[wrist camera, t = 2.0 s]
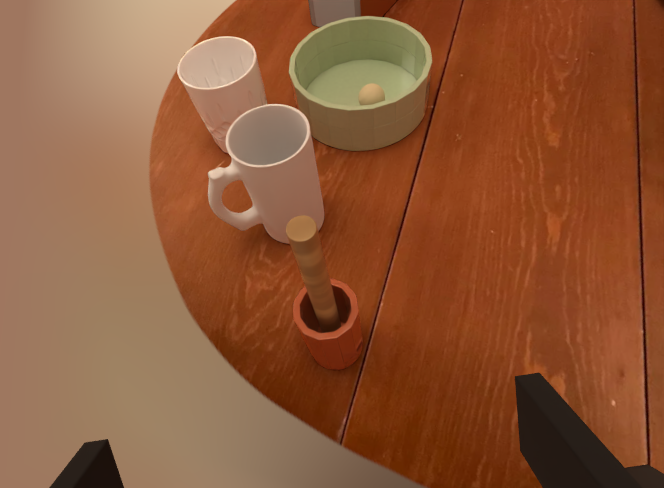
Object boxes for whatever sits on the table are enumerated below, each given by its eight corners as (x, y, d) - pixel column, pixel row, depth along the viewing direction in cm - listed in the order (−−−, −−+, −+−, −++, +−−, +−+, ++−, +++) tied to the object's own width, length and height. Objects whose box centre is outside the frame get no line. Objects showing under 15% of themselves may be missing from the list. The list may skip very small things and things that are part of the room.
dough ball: (353, 107, 52) (352, 86, 49) (374, 95, 52) (373, 73, 50) (369, 121, 50) (368, 100, 48) (390, 108, 51) (390, 87, 48)
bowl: (275, 99, 55) (263, 57, 50) (372, 44, 58) (371, -1, 53) (348, 173, 48) (343, 132, 43) (454, 106, 51) (462, 61, 46)
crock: (299, 338, 39) (280, 302, 32) (341, 308, 40) (332, 267, 33) (329, 381, 37) (316, 352, 30) (373, 348, 38) (371, 313, 31)
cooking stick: (322, 339, 38) (279, 225, 23) (337, 328, 38) (305, 209, 23) (333, 354, 37) (296, 247, 22) (348, 343, 38) (323, 229, 22)
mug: (307, 181, 48) (285, 92, 37) (339, 225, 44) (325, 140, 34) (222, 226, 46) (175, 145, 36) (249, 275, 43) (206, 201, 32)
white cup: (263, 101, 55) (241, 26, 46) (287, 143, 51) (267, 69, 42) (203, 125, 54) (168, 53, 45) (222, 170, 50) (188, 100, 41)
